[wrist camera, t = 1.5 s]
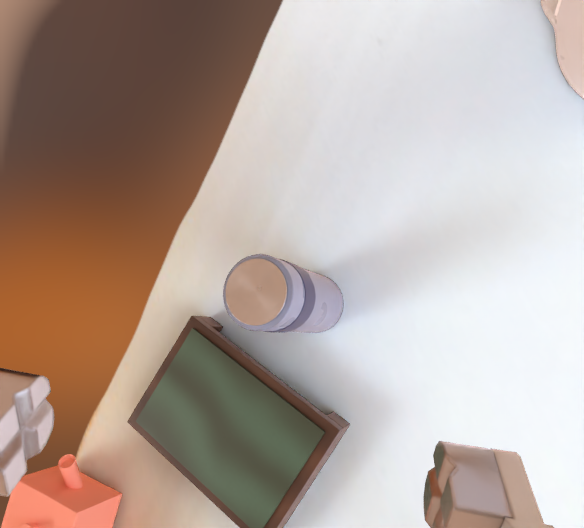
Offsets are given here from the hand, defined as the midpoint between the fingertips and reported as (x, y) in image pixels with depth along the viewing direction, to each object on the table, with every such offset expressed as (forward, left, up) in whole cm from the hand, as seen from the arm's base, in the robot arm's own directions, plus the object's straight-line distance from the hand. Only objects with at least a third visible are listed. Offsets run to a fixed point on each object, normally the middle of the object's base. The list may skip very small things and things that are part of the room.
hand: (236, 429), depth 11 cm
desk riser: (+14, -11, -36) cm, 40 cm away
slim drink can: (+1, -11, -36) cm, 38 cm away
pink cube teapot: (+31, -20, -36) cm, 52 cm away
